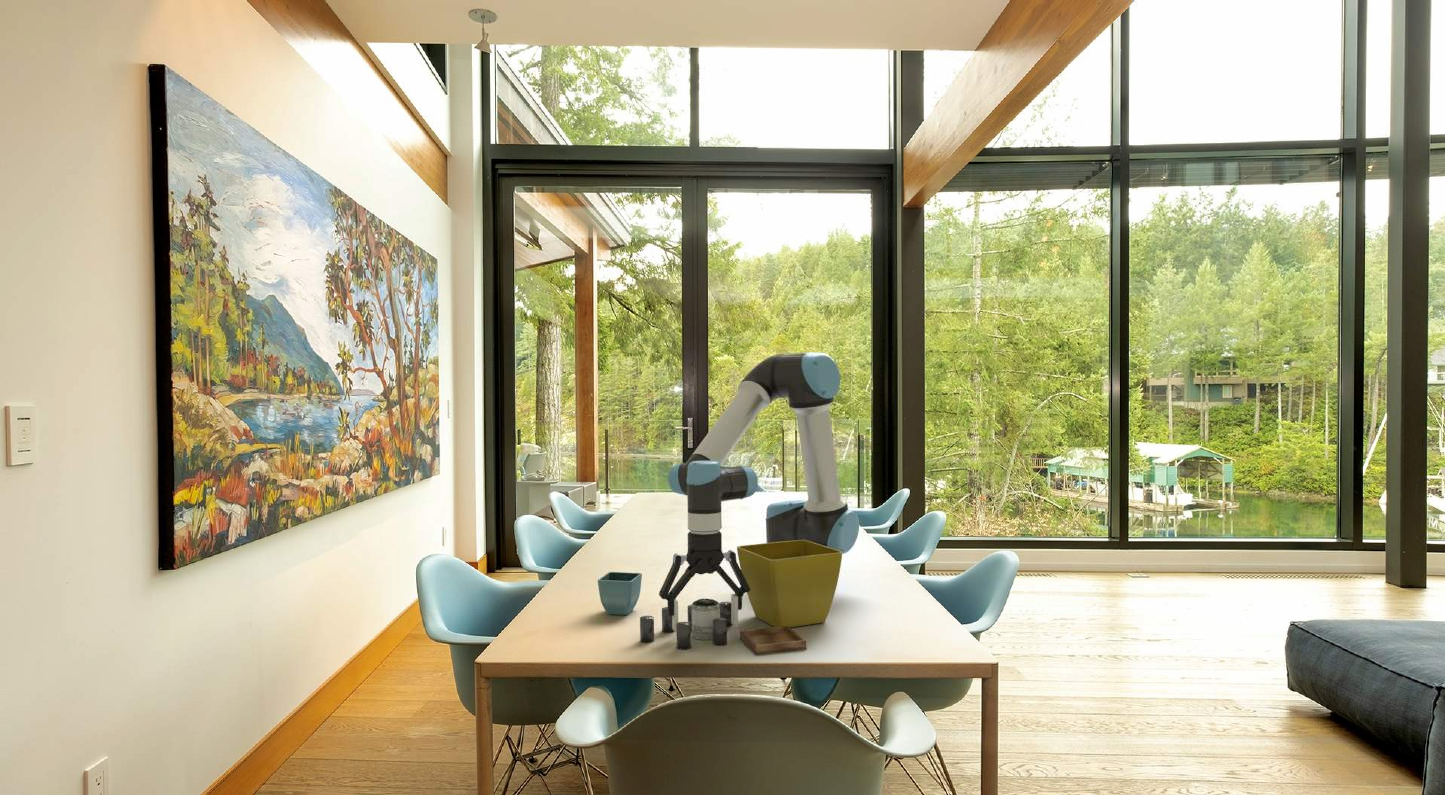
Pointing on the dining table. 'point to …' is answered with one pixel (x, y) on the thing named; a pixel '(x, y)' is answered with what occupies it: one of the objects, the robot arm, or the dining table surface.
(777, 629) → the tray
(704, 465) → the robot arm
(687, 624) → the spacers
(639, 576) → the flower pot
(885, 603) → the dining table surface
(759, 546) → the flower pot
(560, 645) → the dining table surface
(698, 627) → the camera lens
